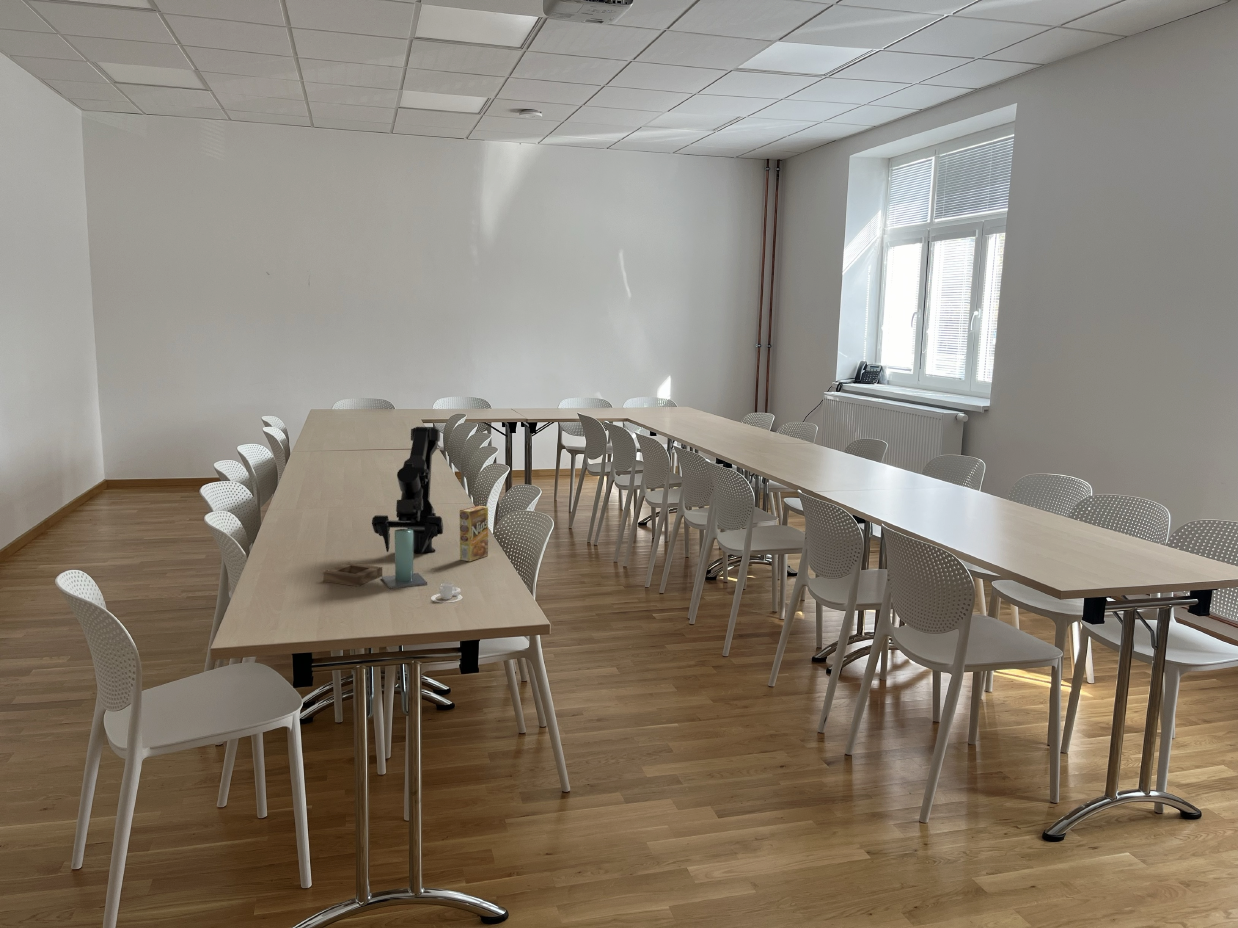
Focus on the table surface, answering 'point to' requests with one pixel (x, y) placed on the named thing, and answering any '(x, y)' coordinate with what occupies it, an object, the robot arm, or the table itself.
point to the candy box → (473, 533)
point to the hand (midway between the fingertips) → (404, 551)
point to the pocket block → (352, 574)
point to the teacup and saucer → (447, 593)
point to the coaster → (393, 583)
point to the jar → (403, 555)
